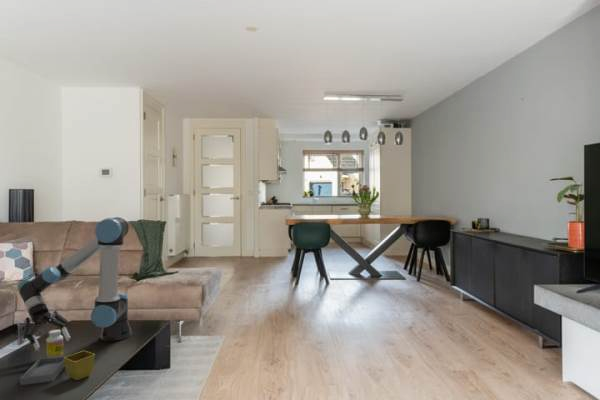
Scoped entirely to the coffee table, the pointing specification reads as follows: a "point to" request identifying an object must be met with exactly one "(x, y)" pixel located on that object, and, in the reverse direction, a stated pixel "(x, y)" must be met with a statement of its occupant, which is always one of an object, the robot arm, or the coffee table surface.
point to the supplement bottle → (54, 344)
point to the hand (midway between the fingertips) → (53, 344)
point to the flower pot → (79, 364)
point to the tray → (43, 370)
